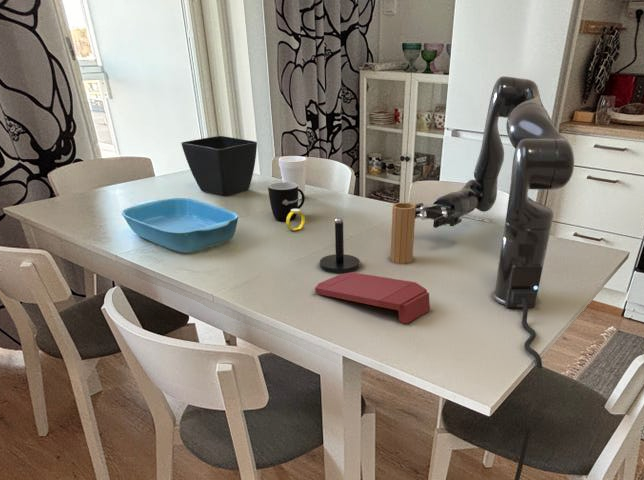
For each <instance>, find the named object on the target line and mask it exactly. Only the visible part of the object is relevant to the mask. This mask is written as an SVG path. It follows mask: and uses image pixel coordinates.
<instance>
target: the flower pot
mask: <svg viewBox="0 0 644 480" xmlns="http://www.w3.org/2000/svg"><path fill="white" fill-rule="evenodd" d="M180 144H181V148H182V151H183V155H184V157H185V159H186V162H187V165H188V167H189V170H190V172H191V174H192V176H193V178H194V180H195V182H196V184H197V186H198V188H199V190H200V191H201V192H206V193H210V194H214V195H219V196H222V197H227V196H231V195H234V194H239V193H241V192H245V191H248V190H249V189H250V186H251V183H252V180H253V176H254V170H255V165H256V159H257V149H258V141H254V140H248V139H243V138H237V137H231V136H224V135H216V136H210V137H204V138H199V139H198V138H197V139H192V140H186V141H182V142H180Z"/></svg>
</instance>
